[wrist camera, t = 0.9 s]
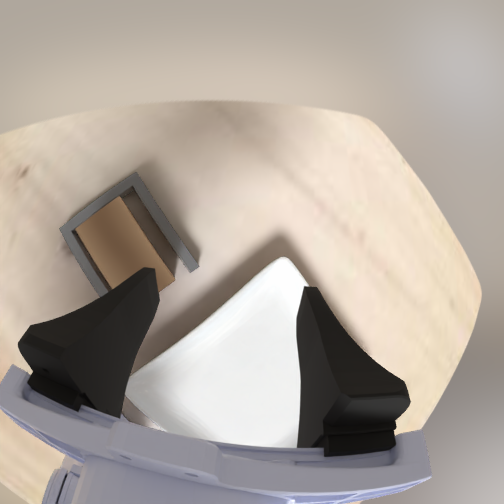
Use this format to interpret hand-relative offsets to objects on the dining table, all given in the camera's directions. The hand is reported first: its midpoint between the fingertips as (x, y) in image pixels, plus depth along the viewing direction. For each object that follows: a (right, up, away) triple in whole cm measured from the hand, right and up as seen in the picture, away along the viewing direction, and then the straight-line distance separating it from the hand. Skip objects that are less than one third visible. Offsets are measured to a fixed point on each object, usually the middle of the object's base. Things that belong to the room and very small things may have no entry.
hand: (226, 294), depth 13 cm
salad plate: (+2, -13, +16) cm, 20 cm away
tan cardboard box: (-10, +2, +12) cm, 16 cm away
